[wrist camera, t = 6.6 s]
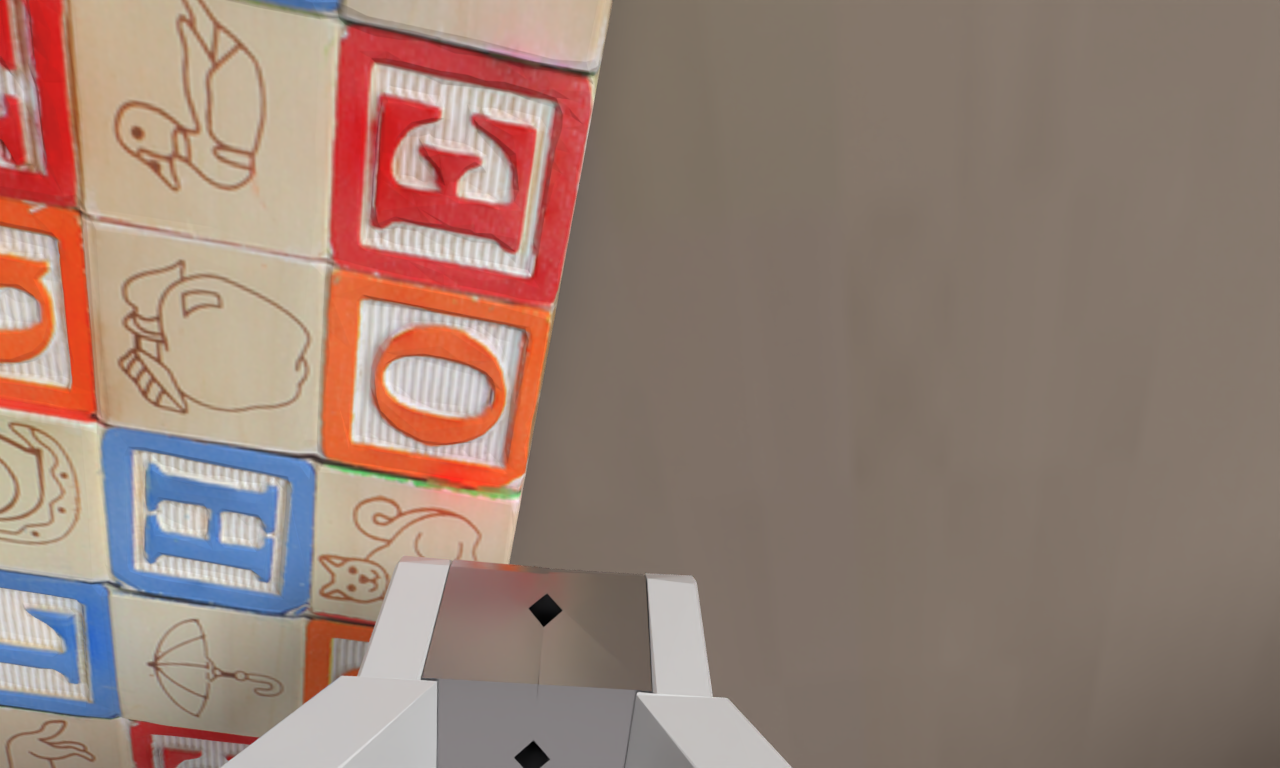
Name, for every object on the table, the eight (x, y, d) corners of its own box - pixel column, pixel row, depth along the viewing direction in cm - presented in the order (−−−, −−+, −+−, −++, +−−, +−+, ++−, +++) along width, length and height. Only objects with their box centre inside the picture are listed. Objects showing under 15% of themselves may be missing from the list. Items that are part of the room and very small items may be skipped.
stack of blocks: (699, -405, 13) (-204, -683, 11) (762, -676, 7) (-1021, -1301, 6) (494, 642, 22) (-6, 566, 21) (452, 875, 17) (-235, 795, 15)
